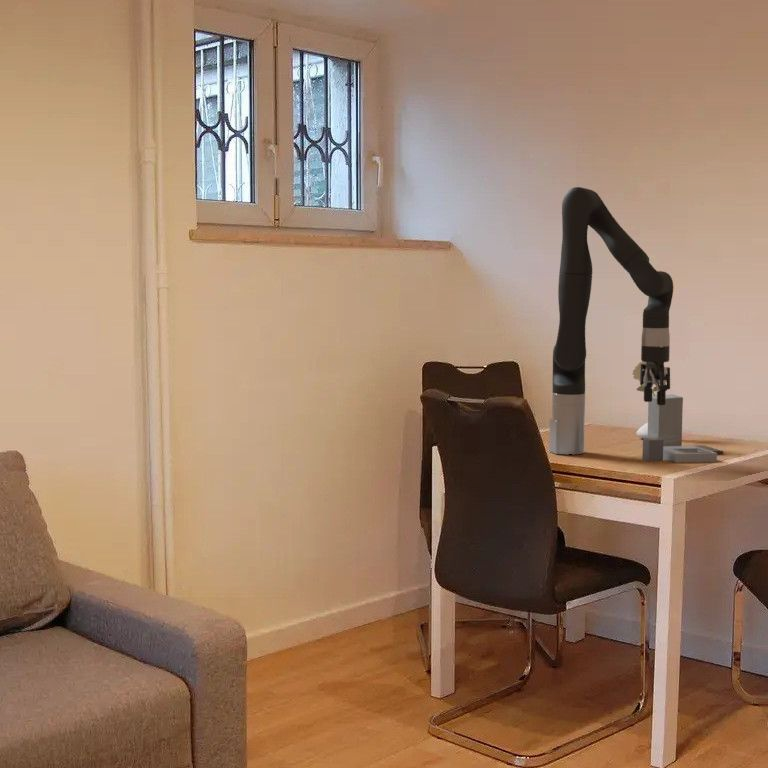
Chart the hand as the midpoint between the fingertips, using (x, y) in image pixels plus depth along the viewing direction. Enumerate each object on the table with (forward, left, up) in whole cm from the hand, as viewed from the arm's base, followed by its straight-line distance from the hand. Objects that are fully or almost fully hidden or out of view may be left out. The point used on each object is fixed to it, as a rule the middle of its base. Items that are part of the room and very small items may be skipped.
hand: (654, 403), depth 307 cm
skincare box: (+12, +20, -16) cm, 28 cm away
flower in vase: (+17, +40, -16) cm, 46 cm away
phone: (+21, +13, -16) cm, 30 cm away
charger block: (0, 0, -16) cm, 16 cm away
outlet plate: (+10, +2, -16) cm, 19 cm away
